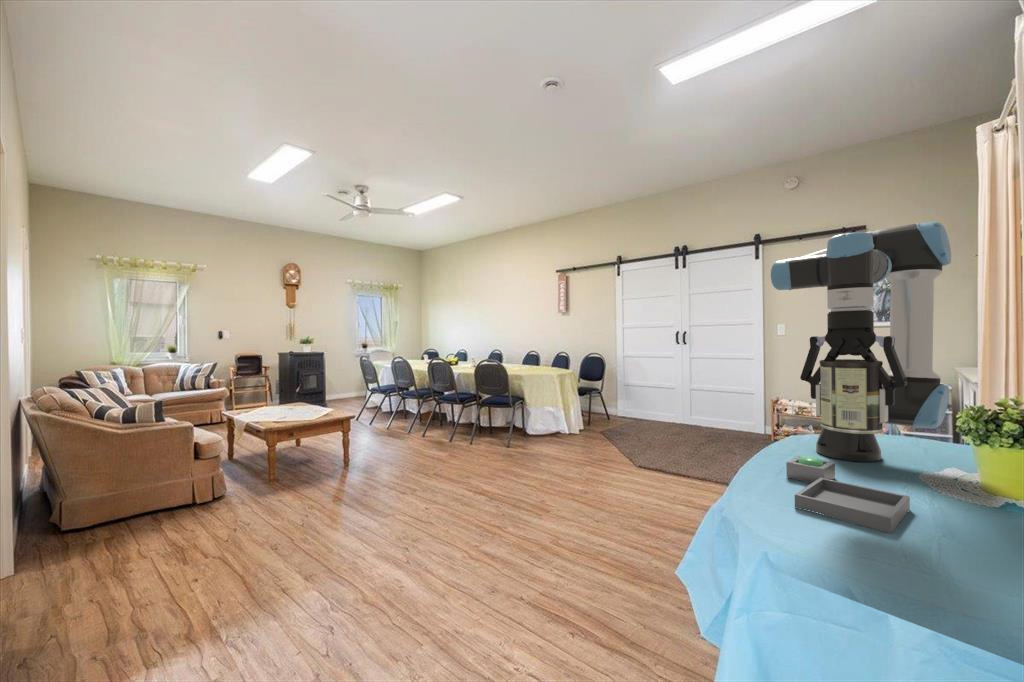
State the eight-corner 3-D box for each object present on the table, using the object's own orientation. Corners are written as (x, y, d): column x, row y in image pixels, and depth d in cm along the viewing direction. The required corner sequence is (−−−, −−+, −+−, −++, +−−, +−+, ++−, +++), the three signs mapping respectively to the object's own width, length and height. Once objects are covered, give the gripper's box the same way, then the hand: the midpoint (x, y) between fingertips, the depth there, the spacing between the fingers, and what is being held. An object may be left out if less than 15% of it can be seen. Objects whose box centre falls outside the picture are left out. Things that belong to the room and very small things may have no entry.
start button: (802, 470, 113) (802, 455, 113) (825, 475, 109) (825, 459, 109) (795, 474, 110) (795, 459, 110) (818, 479, 106) (818, 463, 106)
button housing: (798, 470, 115) (798, 455, 115) (835, 478, 109) (834, 462, 109) (786, 477, 110) (786, 461, 110) (824, 486, 104) (823, 469, 104)
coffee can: (864, 423, 94) (863, 358, 94) (895, 435, 84) (895, 362, 84) (810, 422, 97) (810, 359, 96) (835, 434, 86) (834, 362, 86)
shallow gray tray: (820, 489, 102) (820, 477, 102) (909, 509, 90) (909, 496, 90) (794, 507, 92) (794, 494, 92) (890, 533, 80) (890, 518, 80)
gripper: (781, 312, 96) (782, 413, 97) (920, 306, 79) (920, 429, 79) (794, 312, 101) (795, 408, 102) (928, 307, 83) (928, 423, 84)
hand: (850, 417), depth 90 cm, fingers closed on coffee can, 10 cm apart
